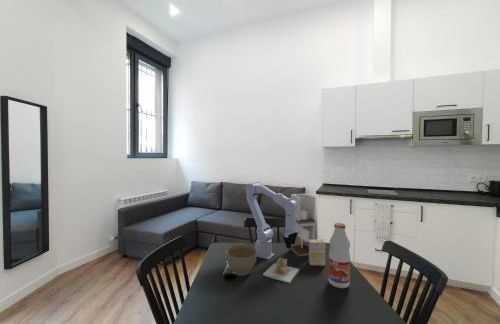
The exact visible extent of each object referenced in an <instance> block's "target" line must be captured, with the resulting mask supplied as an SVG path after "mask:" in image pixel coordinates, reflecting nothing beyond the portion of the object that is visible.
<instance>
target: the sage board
mask: <svg viewBox="0 0 500 324" xmlns="http://www.w3.org/2000/svg"><path fill="white" fill-rule="evenodd" d="M299 272H300V269H299V268H296V267H292V266H288V265H287V271H286V272H285V274H282V273H278V272H277V262H274V263H272V264H271V266H269V268H267V269H266V270H265V272H263V273H262V276H263V277H266V278H270V279H272V280H277V281H281V282H283V283H287V284H291V282H292V281H293V280H294V278H295V277H296V276H297V274H298V273H299Z"/></svg>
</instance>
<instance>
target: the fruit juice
mask: <svg viewBox="0 0 500 324" xmlns="http://www.w3.org/2000/svg"><path fill="white" fill-rule="evenodd" d="M333 226H334V230H333V233H332V235H331V237H330V238H329V251H328V282H329V285H331V286H333V287H335V288H337V289H346V288H348V287H350V284H351V283H350V282H351V280H350V279H351V252H350V247H351V241H350V240H349V238H348V235H347V233H346V228H347V227H346V224H345V223H341V222H336V223H334V225H333Z"/></svg>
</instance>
